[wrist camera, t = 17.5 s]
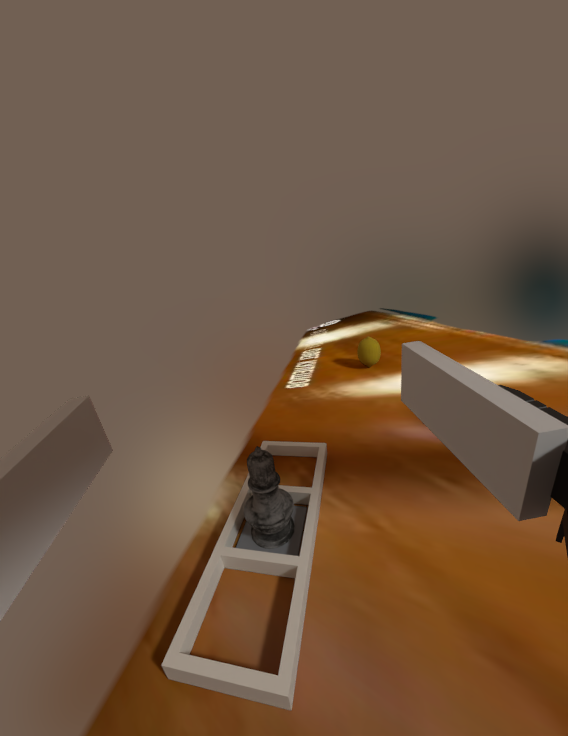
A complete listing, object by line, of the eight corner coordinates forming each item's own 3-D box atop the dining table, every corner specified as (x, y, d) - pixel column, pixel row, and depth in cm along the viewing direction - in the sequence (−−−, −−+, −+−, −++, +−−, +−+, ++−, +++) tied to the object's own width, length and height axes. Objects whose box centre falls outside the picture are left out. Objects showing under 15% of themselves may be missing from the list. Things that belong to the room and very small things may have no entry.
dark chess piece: (289, 555, 33) (275, 468, 29) (240, 546, 35) (219, 462, 30) (302, 512, 38) (291, 432, 34) (258, 505, 40) (243, 428, 36)
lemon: (377, 372, 74) (377, 341, 71) (355, 370, 76) (354, 339, 73) (382, 363, 78) (383, 333, 75) (361, 362, 81) (360, 333, 78)
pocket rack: (264, 450, 51) (263, 440, 50) (327, 453, 48) (326, 443, 48) (167, 678, 25) (161, 665, 24) (291, 710, 22) (288, 697, 22)
